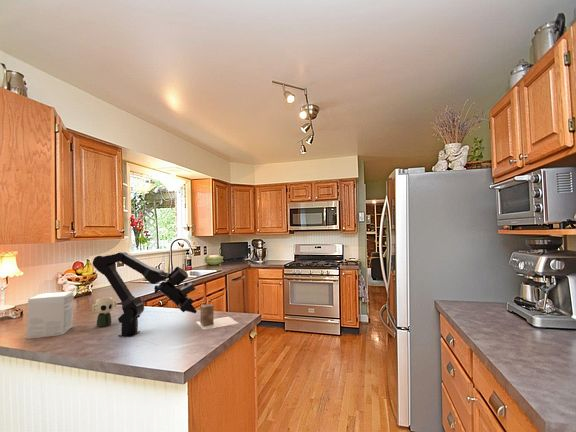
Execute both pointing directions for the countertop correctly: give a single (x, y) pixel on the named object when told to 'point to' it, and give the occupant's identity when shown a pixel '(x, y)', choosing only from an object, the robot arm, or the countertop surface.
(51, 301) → the supplement box
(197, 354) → the countertop surface
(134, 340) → the countertop surface
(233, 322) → the cream board
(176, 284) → the robot arm
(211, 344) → the countertop surface
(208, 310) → the walnut block
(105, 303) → the big eyed figurine
